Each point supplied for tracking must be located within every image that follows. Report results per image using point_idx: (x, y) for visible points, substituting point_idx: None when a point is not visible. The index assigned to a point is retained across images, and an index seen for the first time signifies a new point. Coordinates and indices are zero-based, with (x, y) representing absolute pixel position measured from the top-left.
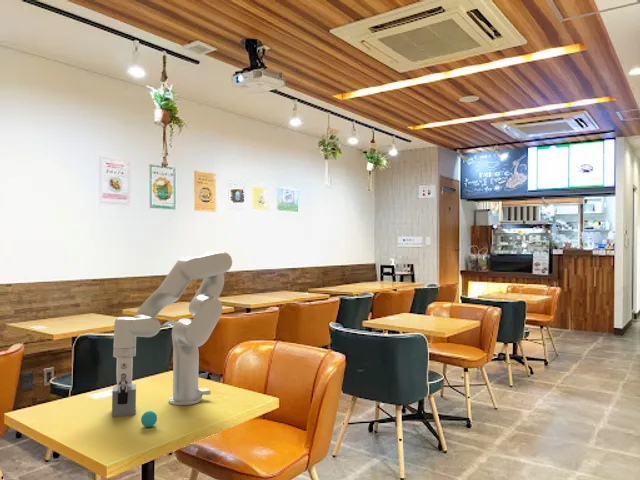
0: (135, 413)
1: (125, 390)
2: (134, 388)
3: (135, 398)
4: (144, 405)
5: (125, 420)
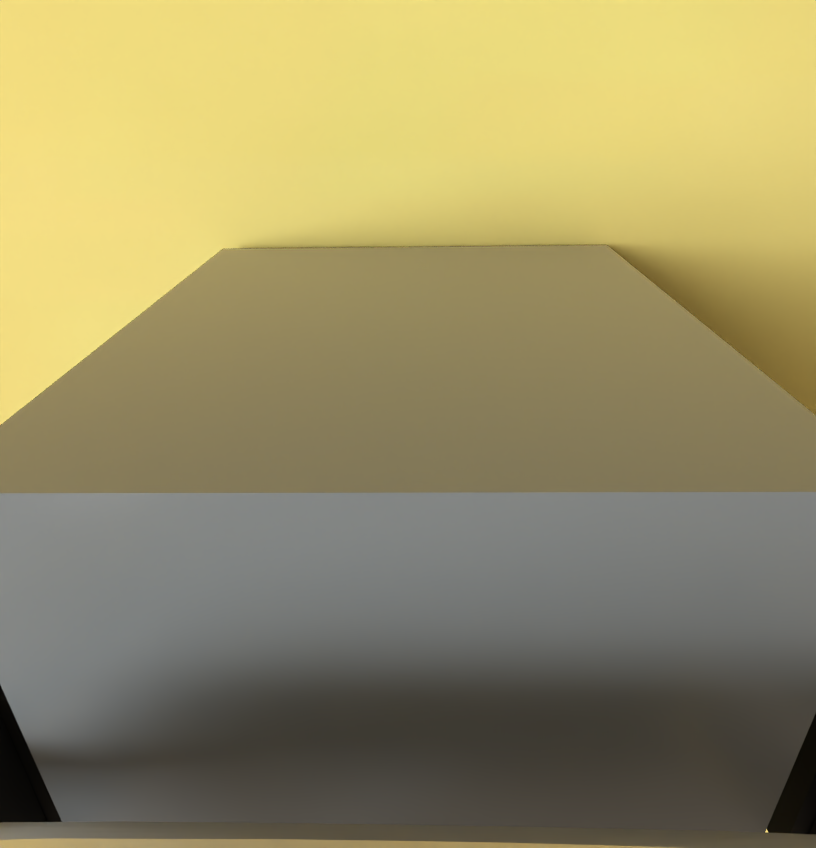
0: (609, 249)
1: (787, 769)
2: (720, 543)
3: (730, 352)
4: (65, 71)
5: (794, 386)
